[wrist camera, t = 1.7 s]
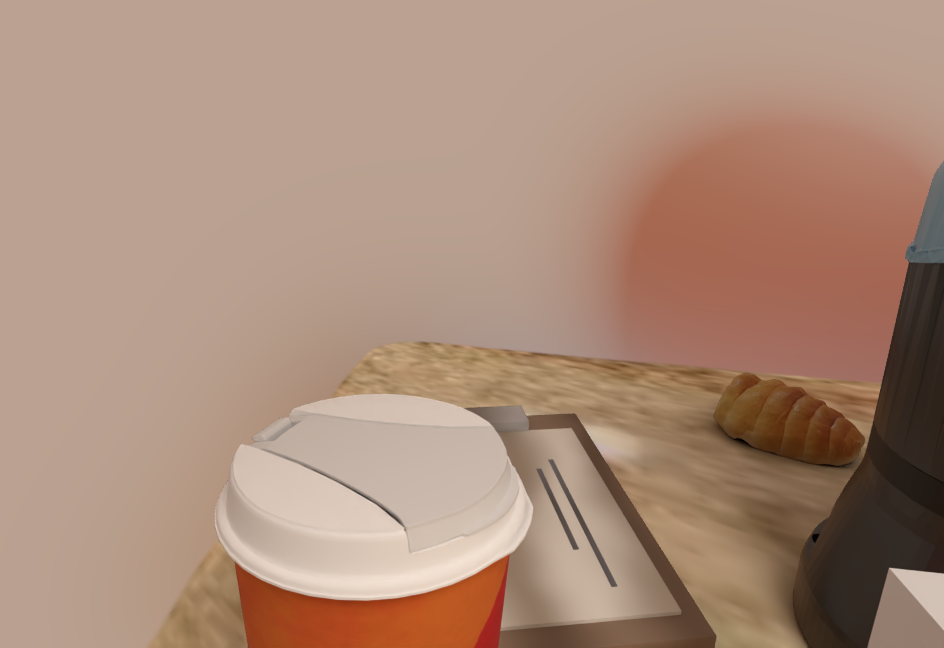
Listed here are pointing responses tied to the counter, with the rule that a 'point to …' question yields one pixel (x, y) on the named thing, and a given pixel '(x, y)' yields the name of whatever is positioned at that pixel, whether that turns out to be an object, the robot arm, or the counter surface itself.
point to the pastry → (786, 422)
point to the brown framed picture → (585, 550)
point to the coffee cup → (373, 526)
